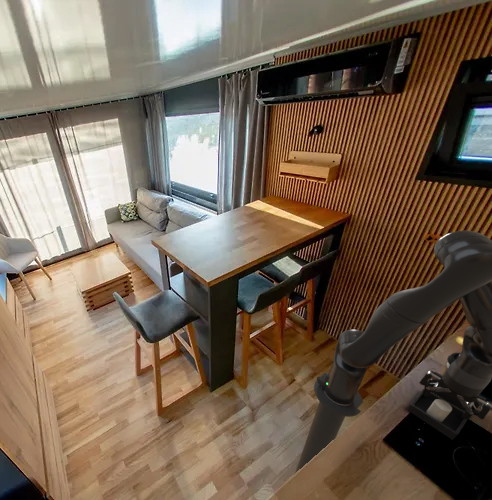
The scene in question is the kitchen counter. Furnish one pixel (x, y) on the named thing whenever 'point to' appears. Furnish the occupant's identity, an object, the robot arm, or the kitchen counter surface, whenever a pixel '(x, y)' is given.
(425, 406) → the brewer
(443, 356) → the kitchen counter surface
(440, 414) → the cylinder
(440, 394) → the lid
